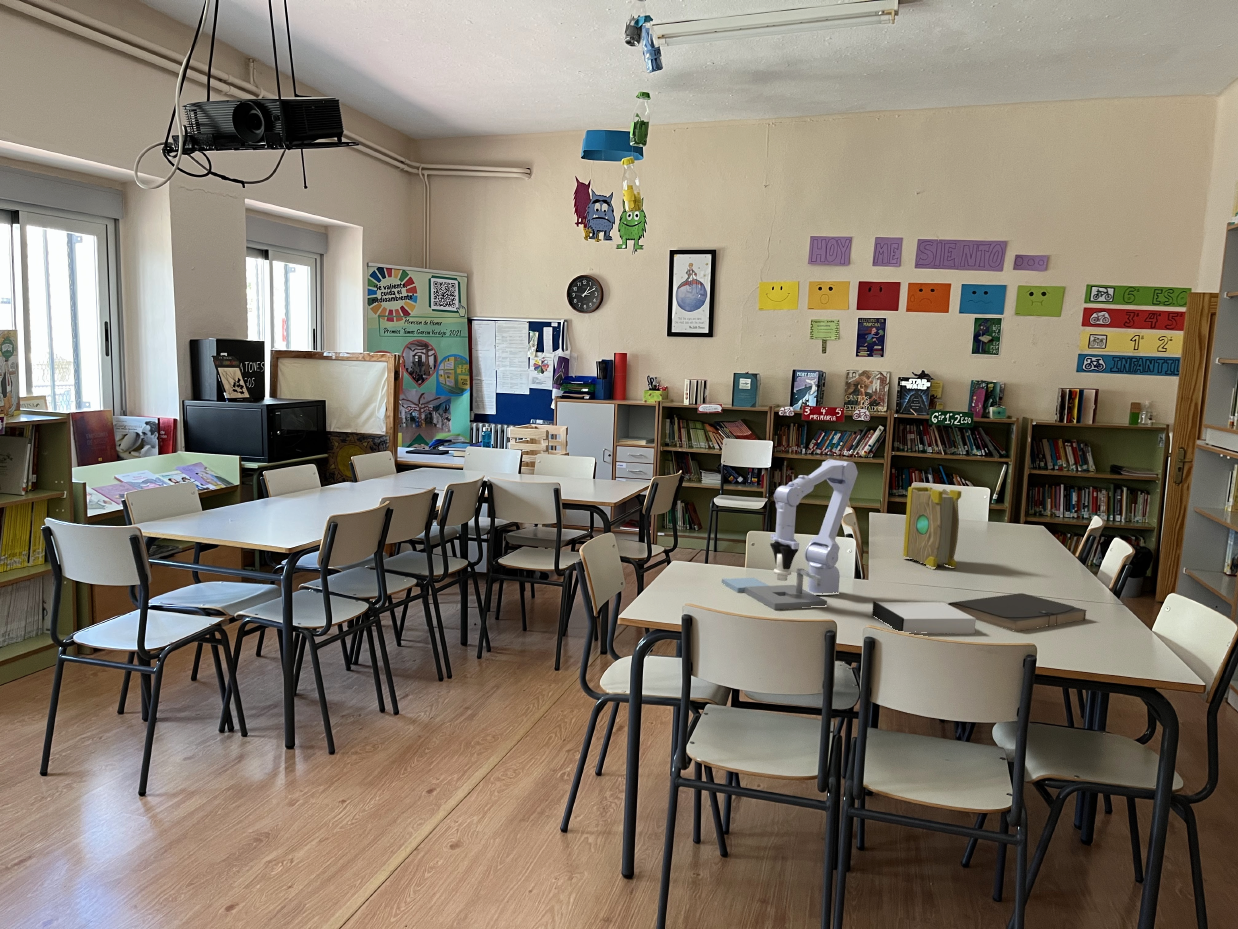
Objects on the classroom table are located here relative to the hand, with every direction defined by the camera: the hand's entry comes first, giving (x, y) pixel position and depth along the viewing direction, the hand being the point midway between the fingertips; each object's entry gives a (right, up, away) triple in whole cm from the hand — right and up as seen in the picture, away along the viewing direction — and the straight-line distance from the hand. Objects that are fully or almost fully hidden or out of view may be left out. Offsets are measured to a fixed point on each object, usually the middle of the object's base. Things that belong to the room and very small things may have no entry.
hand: (782, 567), depth 263 cm
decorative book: (+69, -7, +64) cm, 95 cm away
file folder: (+70, -15, -6) cm, 72 cm away
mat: (-9, -8, +16) cm, 20 cm away
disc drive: (+36, -15, -20) cm, 44 cm away
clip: (+7, -4, -3) cm, 9 cm away
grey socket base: (+1, -10, +1) cm, 10 cm away
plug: (0, -4, 0) cm, 4 cm away
